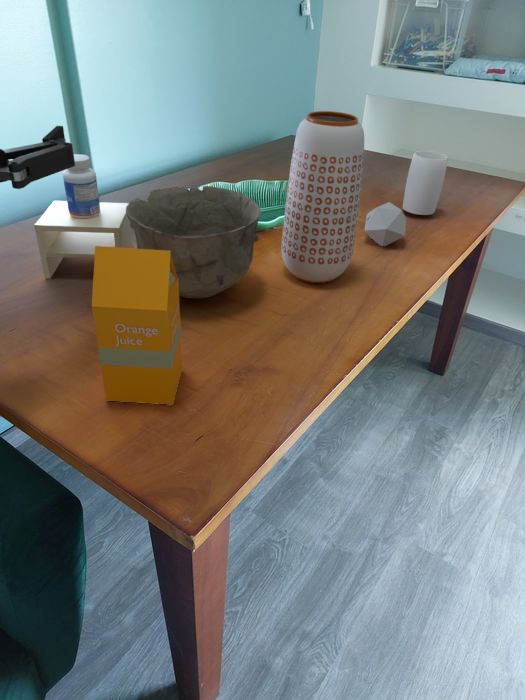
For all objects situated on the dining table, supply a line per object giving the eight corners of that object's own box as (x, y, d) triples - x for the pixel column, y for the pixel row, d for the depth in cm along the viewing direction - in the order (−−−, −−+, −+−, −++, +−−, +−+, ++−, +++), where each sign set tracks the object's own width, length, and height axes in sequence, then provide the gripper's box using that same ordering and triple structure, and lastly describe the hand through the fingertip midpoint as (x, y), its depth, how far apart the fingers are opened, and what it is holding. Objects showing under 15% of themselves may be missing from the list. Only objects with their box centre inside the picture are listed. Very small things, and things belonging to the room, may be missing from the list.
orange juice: (120, 366, 75) (103, 232, 64) (183, 370, 75) (177, 237, 64) (105, 402, 69) (83, 261, 57) (173, 406, 69) (165, 266, 57)
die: (376, 233, 122) (358, 201, 116) (415, 221, 117) (398, 187, 111) (373, 260, 117) (354, 227, 111) (413, 249, 113) (395, 214, 106)
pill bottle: (67, 209, 96) (58, 153, 90) (98, 206, 98) (91, 151, 92) (70, 220, 92) (61, 162, 86) (102, 217, 93) (95, 160, 88)
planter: (297, 294, 95) (313, 127, 79) (268, 262, 105) (278, 108, 89) (361, 284, 100) (390, 124, 83) (328, 254, 110) (348, 106, 93)
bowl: (237, 256, 107) (239, 181, 98) (275, 310, 90) (281, 226, 81) (125, 267, 100) (117, 188, 92) (143, 328, 84) (135, 238, 75)
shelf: (44, 278, 95) (34, 225, 89) (62, 250, 105) (53, 200, 99) (124, 280, 96) (118, 227, 90) (134, 252, 106) (130, 203, 100)
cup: (393, 210, 133) (404, 151, 125) (419, 206, 137) (432, 149, 129) (415, 222, 127) (429, 161, 119) (442, 217, 131) (457, 158, 123)
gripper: (-194, 223, 51) (-88, 160, 69) (71, 232, 53) (110, 168, 71) (-231, 142, 47) (-107, 97, 64) (59, 155, 49) (103, 107, 66)
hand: (6, 134), depth 67 cm, fingers open, 13 cm apart
